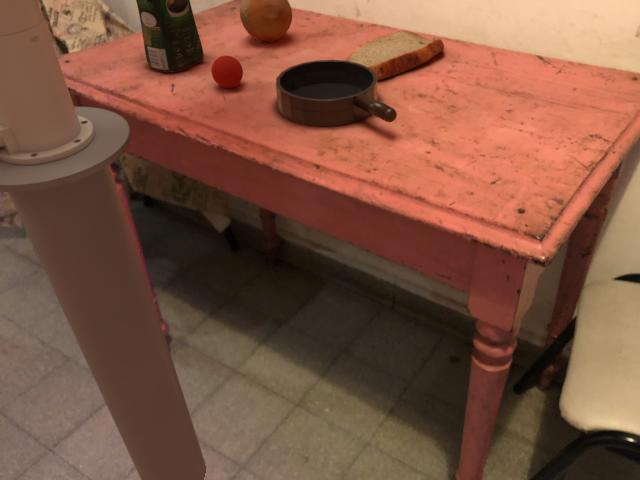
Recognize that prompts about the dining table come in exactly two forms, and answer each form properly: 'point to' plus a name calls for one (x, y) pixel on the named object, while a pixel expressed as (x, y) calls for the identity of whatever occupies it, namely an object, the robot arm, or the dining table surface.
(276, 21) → the onion
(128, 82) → the dining table surface
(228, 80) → the ball
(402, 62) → the bread slice
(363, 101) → the pan handle
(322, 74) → the pan
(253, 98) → the dining table surface
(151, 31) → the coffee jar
